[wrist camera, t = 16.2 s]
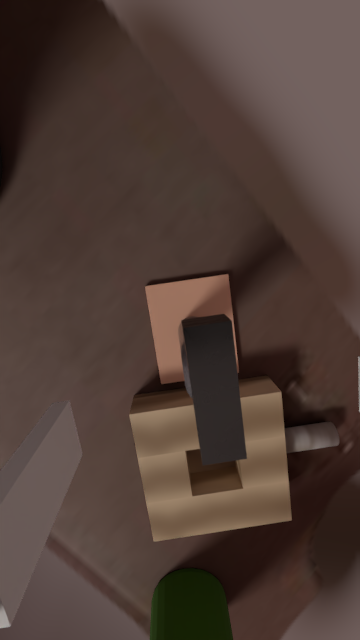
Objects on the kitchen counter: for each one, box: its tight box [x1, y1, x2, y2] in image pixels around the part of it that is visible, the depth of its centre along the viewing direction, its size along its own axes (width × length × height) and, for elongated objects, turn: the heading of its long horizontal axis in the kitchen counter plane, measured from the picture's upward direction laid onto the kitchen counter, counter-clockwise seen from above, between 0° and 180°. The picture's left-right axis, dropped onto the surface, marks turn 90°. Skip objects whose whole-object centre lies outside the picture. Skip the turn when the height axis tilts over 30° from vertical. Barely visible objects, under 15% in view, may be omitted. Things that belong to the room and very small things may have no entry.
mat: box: [145, 274, 239, 384], centre depth 30 cm, size 10×8×1 cm
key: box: [178, 314, 247, 465], centre depth 22 cm, size 3×8×14 cm, turn 8°
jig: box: [129, 375, 339, 542], centre depth 31 cm, size 14×20×4 cm
